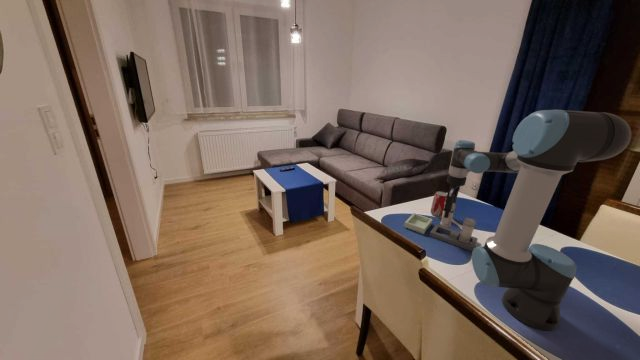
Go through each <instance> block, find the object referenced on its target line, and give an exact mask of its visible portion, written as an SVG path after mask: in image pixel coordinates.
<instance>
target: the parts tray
mask: <svg viewBox="0 0 640 360" xmlns="http://www.w3.org/2000/svg"><path fill="white" fill-rule="evenodd" d="M432 223H433V219H432V218H431V217H427V216H424V215H421V214H418V213H415V212H413V213H412V214H411V215H410V216H409V217H408V219H406V220H405V222H404V224H403V228H406V229H407V228H408V229H407V230H410V229H411V230H410V231H413V232H415V231H416V233H418V234H421V235H423V234H425V233H426V232H427V231H428V230H429V228H430V227H431V226H432Z"/></svg>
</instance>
